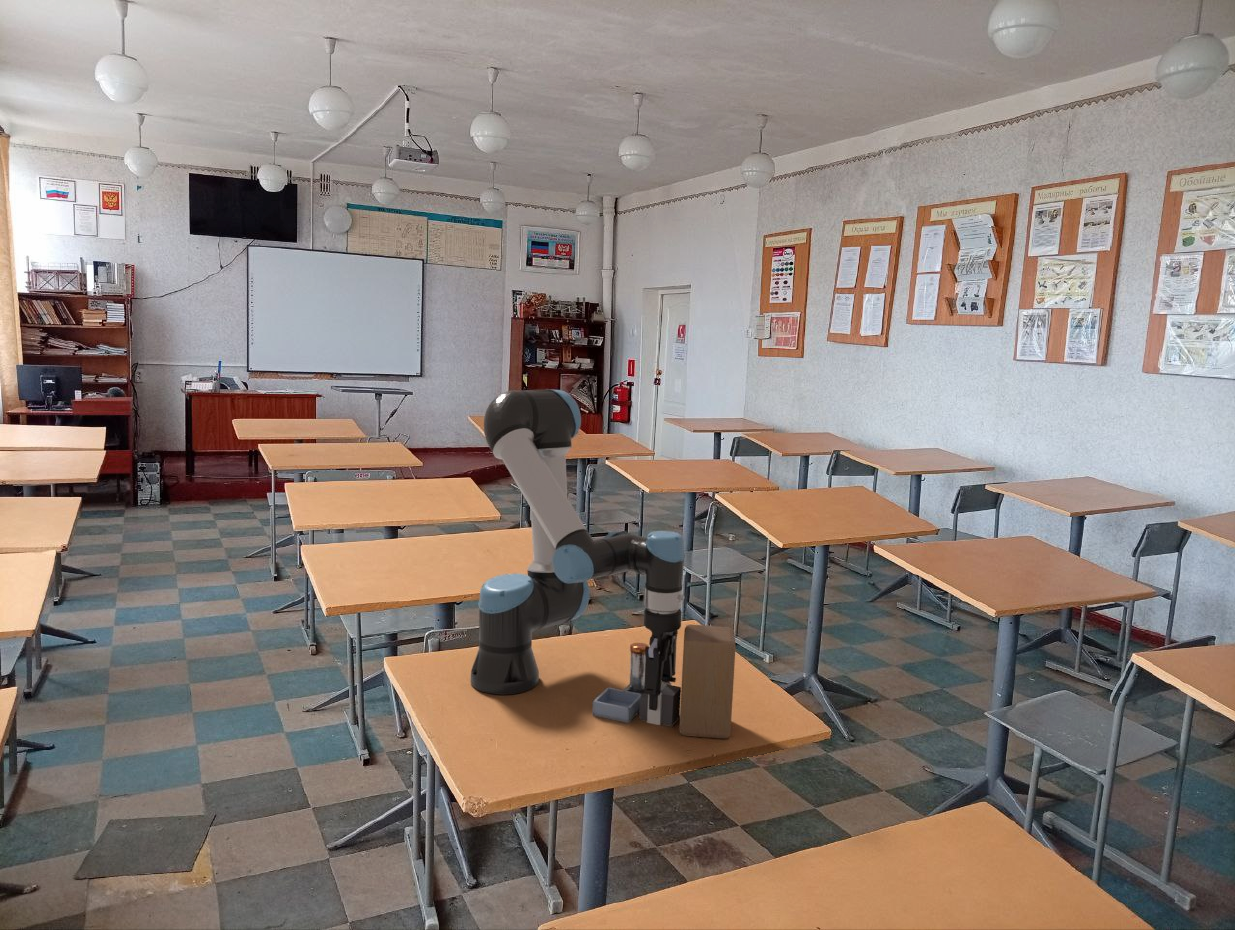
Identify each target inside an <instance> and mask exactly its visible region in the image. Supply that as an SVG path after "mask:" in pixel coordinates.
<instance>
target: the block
mask: <svg viewBox="0 0 1235 930" xmlns="http://www.w3.org/2000/svg"><path fill="white" fill-rule="evenodd" d="M683 635H684V636H683V651H682V671H681V672H682V674H681V697H680V717H679V729H678V730H679V733H680V734H681V735H683V736H687V737H688V736H690V737H701V738H713V739H728V738H729V737H730V736H731V730H732V728H731V727H732V713H733V698H734V694H733V693H734V679H735V665H736V664H735V662H736V649H737V647H736V638H735V637H736V636H735V630H734V628H732V627H730V626H718V625H716V626H715V625H705V624H704V625H702V624H686V626H685V627H684V634H683Z"/></svg>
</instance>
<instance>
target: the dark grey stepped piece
mask: <svg viewBox="0 0 1235 930" xmlns="http://www.w3.org/2000/svg"><path fill="white" fill-rule="evenodd" d="M681 688H682V686H676V685H672V684H671V685H668V684H667V685H666V686H665V687H664V688H663V690H661V691H660V693H662V709H661V724H660V726H665V727H666V726H667V727H673V726H674V724H676V722H677V721H678V719H680V708H681ZM647 712H648V694H645V693H643V694H642V695H641V696H640V711H639V717H638V718H639V719H638V720H639V721H642V722H643V721H644V722H647Z"/></svg>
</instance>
